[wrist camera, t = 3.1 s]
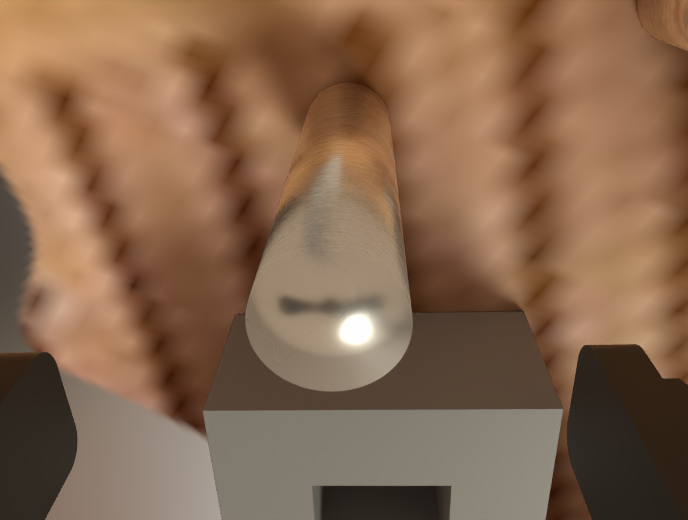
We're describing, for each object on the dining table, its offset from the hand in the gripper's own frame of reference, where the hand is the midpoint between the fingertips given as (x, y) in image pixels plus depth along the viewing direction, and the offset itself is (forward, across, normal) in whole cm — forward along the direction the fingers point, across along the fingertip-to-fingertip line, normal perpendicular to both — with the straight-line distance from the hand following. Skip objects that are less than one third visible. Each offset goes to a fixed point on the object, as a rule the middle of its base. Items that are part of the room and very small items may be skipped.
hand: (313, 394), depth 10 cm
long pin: (+15, 0, 0) cm, 15 cm away
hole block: (+15, -1, +14) cm, 20 cm away
